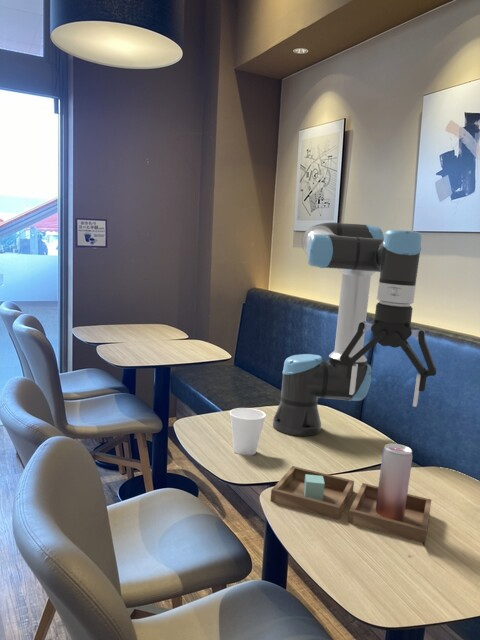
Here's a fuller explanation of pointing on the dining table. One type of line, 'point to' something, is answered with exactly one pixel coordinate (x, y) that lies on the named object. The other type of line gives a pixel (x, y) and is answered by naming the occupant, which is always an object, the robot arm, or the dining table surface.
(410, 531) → the tray
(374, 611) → the dining table surface
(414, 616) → the dining table surface
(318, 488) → the teal block
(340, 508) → the tray
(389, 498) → the beverage can
